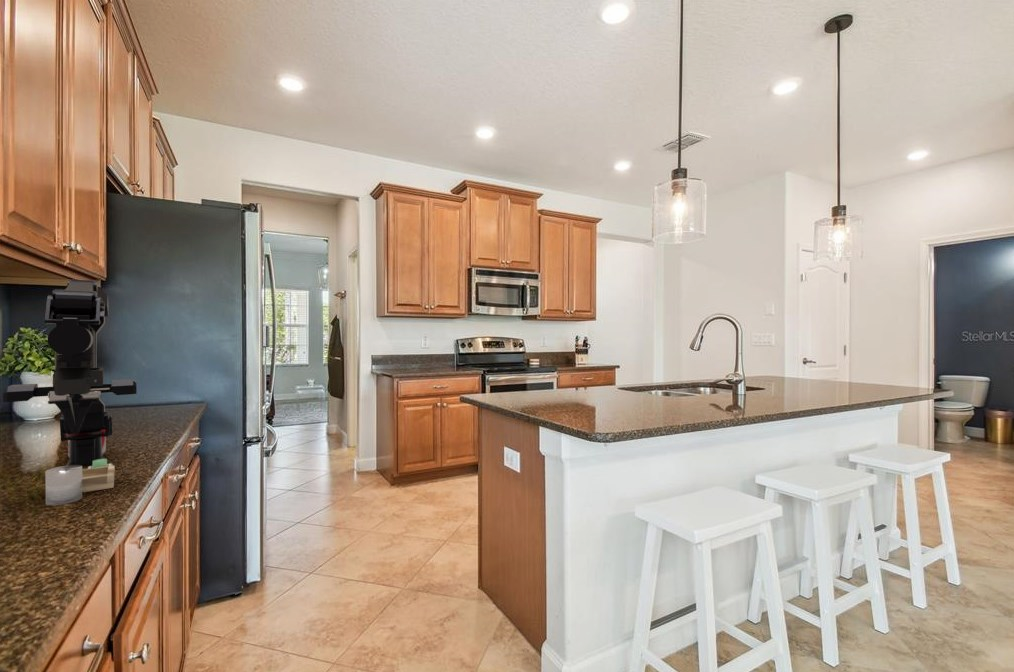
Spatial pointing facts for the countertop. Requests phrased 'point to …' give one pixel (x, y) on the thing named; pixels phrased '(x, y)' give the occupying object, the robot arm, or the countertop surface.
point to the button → (99, 463)
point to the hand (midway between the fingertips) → (75, 434)
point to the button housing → (92, 466)
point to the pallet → (97, 478)
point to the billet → (63, 484)
